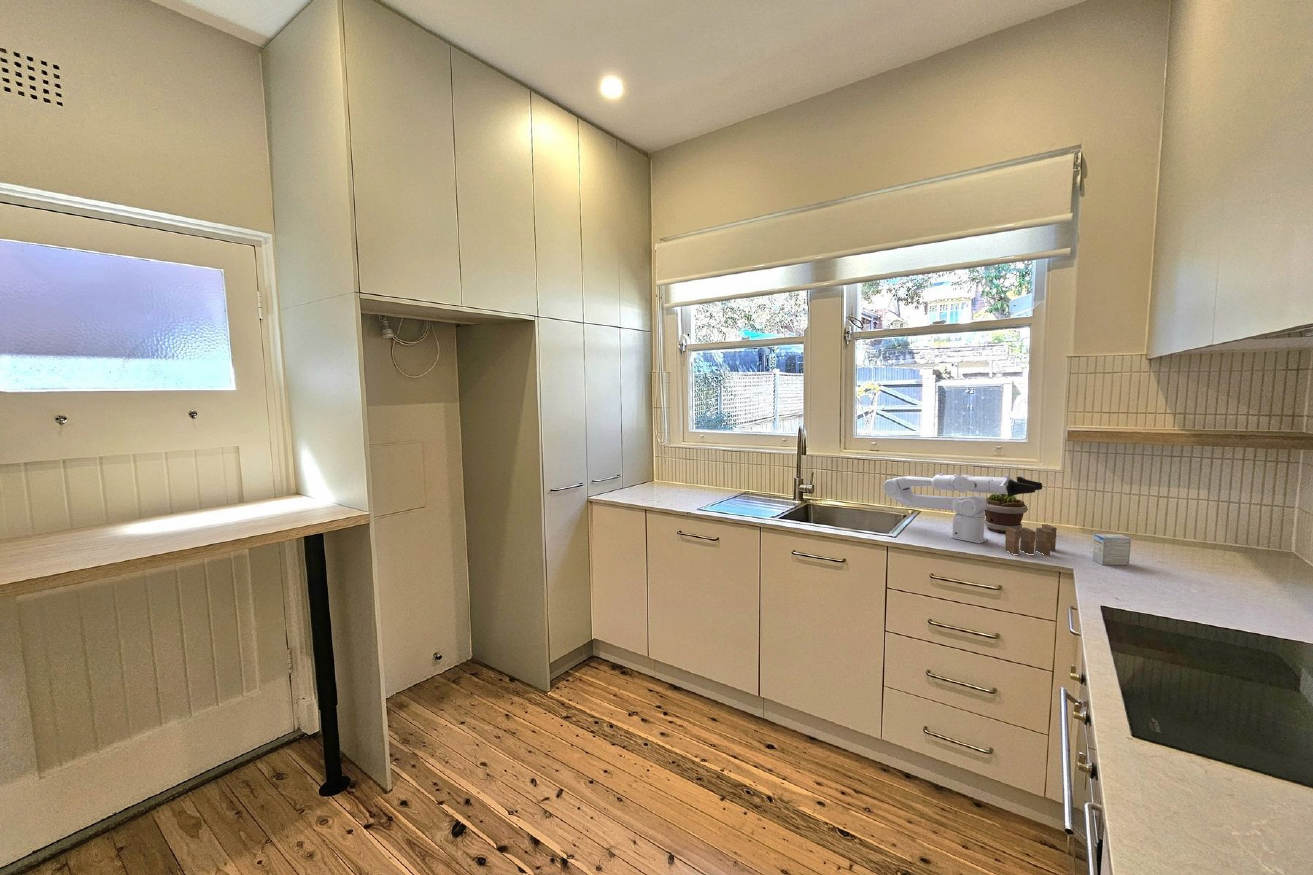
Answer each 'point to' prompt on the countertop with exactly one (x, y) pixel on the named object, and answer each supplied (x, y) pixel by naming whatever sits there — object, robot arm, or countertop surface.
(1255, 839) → the countertop surface
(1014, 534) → the domino
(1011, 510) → the flowerpot
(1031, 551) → the domino
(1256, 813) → the countertop surface
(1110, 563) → the medicine box
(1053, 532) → the domino
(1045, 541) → the domino
